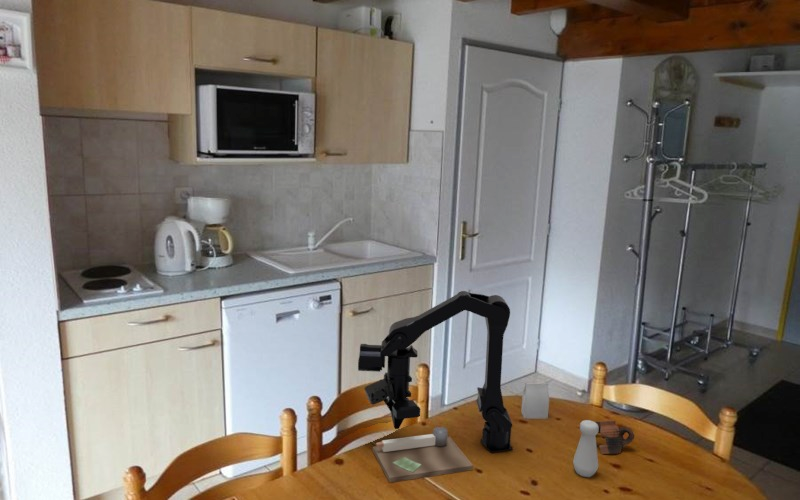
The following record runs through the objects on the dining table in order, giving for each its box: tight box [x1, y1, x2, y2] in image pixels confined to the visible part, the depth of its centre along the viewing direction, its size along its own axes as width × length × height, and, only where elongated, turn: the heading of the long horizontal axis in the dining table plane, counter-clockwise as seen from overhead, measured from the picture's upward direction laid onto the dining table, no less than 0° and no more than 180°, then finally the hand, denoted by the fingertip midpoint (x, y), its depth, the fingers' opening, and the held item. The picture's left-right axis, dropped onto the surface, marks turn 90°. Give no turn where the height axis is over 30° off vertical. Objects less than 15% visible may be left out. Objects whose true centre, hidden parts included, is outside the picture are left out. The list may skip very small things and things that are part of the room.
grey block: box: [520, 382, 550, 420], centre depth 169 cm, size 4×7×10 cm, turn 95°
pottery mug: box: [594, 419, 636, 455], centre depth 154 cm, size 12×10×8 cm
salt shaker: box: [572, 419, 599, 478], centre depth 140 cm, size 6×6×13 cm
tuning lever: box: [375, 426, 448, 452], centre depth 147 cm, size 19×4×4 cm, turn 108°
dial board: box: [372, 436, 474, 483], centre depth 144 cm, size 21×14×1 cm
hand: (396, 428), depth 152 cm, fingers closed
